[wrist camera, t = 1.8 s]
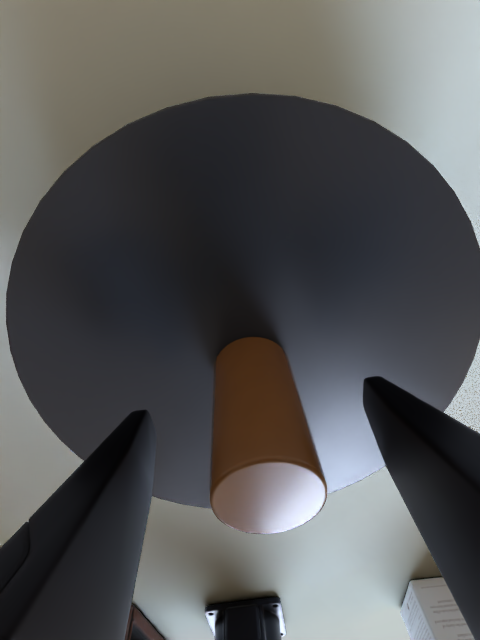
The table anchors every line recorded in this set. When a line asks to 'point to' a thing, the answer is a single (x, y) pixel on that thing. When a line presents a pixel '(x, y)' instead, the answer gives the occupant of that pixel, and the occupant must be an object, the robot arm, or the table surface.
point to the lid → (244, 298)
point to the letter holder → (140, 627)
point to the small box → (433, 612)
